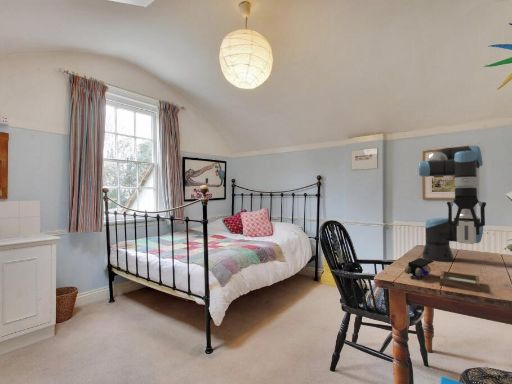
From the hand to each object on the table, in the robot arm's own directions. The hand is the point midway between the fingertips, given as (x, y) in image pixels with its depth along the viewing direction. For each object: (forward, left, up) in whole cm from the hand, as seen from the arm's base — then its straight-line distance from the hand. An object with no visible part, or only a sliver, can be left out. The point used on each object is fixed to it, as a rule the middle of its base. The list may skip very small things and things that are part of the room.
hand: (466, 241), depth 117 cm
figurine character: (+1, -17, -18) cm, 25 cm away
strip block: (0, 0, 0) cm, 0 cm away
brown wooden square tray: (+4, -2, -17) cm, 18 cm away
